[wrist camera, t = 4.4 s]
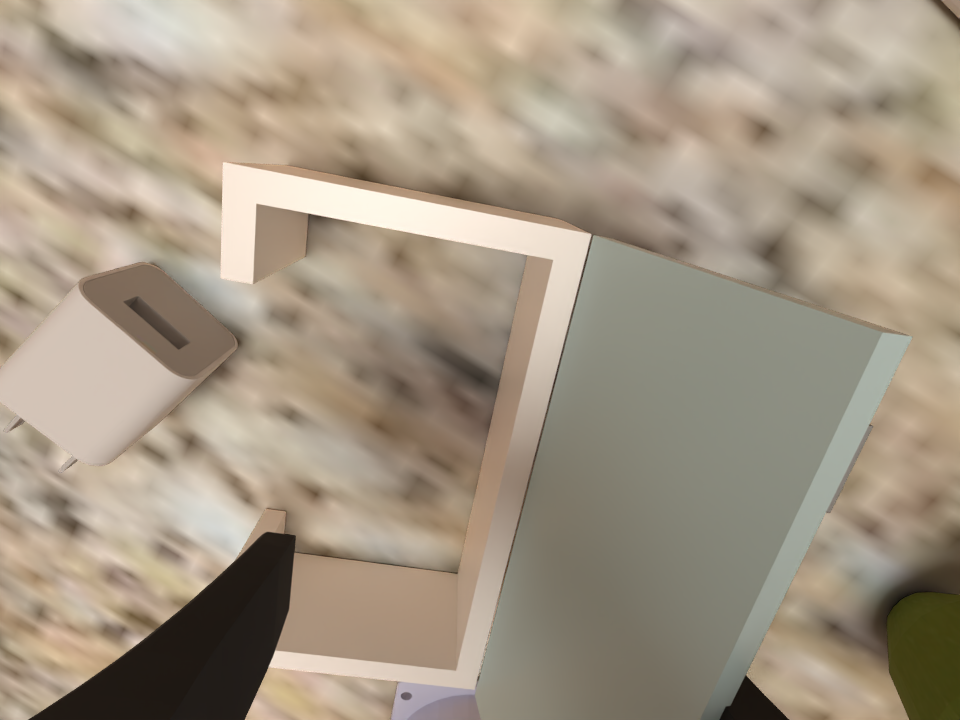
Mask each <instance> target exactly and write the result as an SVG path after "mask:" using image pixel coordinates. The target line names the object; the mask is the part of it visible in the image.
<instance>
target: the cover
mask: <svg viewBox="0 0 960 720" xmlns="http://www.w3.org/2000/svg"><path fill="white" fill-rule="evenodd" d="M911 339H912V336H909V335H906V334H903V333H900V332H897V331H894V330H891V329H888V328H885V327H882V326H879V325H875V324H872V323H869V322H866V321H863V320H860V319H857V318H854V317H851V316H848V315H845V314H842V313H839V312H836V311H833V310H830V309H826V308H823V307H820V306H817V305H814V304H811V303H808V302H805V301H802V300H799V299H796V298H793V297H790V296H787V295H784V294H781V293H777V292H774V291H771V290H768V289H765V288H762V287H759V286H756V285H753V284H750V283H747V282H744V281H741V280H738V279H735V278H732V277H728V276H725V275H722V274H719V273H716V272H713V271H710V270H707V269H704V268H701V267H698V266H695V265H692V264H689V263H686V262H683V261H679V260H676V259H673V258H670V257H667V256H664V255H661V254H658V253H655V252H652V251H649V250H646V249H643V248H640V247H637V246H634V245H630V244H627V243H624V242H621V241H618V240H615V239H612V238H607V237H602V236H596V235H594V236H593V239H592V243H591V247H590V251H589V255H588V259H587V263H586V266H585V270H584V274H583V278H582V282H581V286H580V290H579V294H578V297H577V301H576V305H575V309H574V313H573V317H572V321H571V324H570V328H569V332H568V336H567V340H566V344H565V348H564V352H563V355H562V359H561V363H560V367H559V371H558V375H557V379H556V383H555V386H554V390H553V394H552V398H551V402H550V406H549V410H548V413H547V417H546V421H545V425H544V429H543V433H542V437H541V441H540V444H539V448H538V452H537V456H536V460H535V464H534V468H533V472H532V475H531V479H530V483H529V487H528V491H527V495H526V499H525V502H524V506H523V510H522V514H521V518H520V522H519V526H518V530H517V533H516V537H515V541H514V545H513V549H512V553H511V557H510V561H509V564H508V568H507V572H506V576H505V580H504V584H503V588H502V591H501V595H500V599H499V603H498V607H497V611H496V615H495V619H494V622H493V626H492V630H491V634H490V638H489V642H488V646H487V649H486V653H485V657H484V661H483V665H482V669H481V673H480V677H479V680H478V684H477V688H476V692H475V698H476V702H477V706H478V710H479V714H480V718H481V720H719V719H720V717H721V715H722V713H723V711H724V709H725V707H726V706H731V704H732V702H733V700H734V698H735V696H736V693H737V691H738V689H739V687H740V685H741V683H742V681H743V679H744V677H745V675H746V673H747V671H748V669H749V667H750V665H751V663H752V661H753V659H754V657H755V655H756V653H757V651H758V649H759V647H760V645H761V643H762V641H763V639H764V637H765V635H766V633H767V631H768V629H769V627H770V625H771V623H772V621H773V619H774V616H775V614H776V612H777V610H778V608H779V606H780V604H781V602H782V600H783V598H784V596H785V594H786V592H787V590H788V588H789V586H790V584H791V582H792V580H793V578H794V576H795V574H796V572H797V570H798V568H799V566H800V564H801V562H802V560H803V558H804V556H805V554H806V552H807V550H808V548H809V546H810V544H811V542H812V540H813V537H814V535H815V533H816V531H817V529H818V527H819V525H820V523H821V521H822V519H823V517H824V515H825V513H830V512H831V510H832V508H833V506H834V504H835V502H836V500H837V498H838V496H839V494H840V492H841V490H842V488H843V486H844V484H845V482H846V480H847V478H848V476H849V474H850V472H851V470H852V468H853V466H854V464H855V462H856V460H857V458H858V456H859V454H860V452H861V450H862V448H863V446H864V444H865V442H866V440H867V438H868V436H869V434H870V432H871V430H872V428H873V426H872V425H870V422H871V420H872V418H873V416H874V414H875V412H876V410H877V408H878V406H879V404H880V402H881V400H882V398H883V396H884V394H885V392H886V390H887V388H888V386H889V384H890V381H891V379H892V377H893V375H894V373H895V371H896V369H897V367H898V365H899V363H900V361H901V359H902V357H903V355H904V353H905V351H906V349H907V347H908V345H909V343H910V341H911Z"/></svg>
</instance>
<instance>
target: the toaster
mask: <svg viewBox="0 0 960 720" xmlns="http://www.w3.org/2000/svg"><path fill="white" fill-rule="evenodd" d="M941 1H942V2H943V3H944V4H945V5H946V6H947V7H948V8H949V9H950V10H951V11H952V12H953V13H954V14H955V15H956V16H957V17H958V18H959V19H960V0H941Z"/></svg>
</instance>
